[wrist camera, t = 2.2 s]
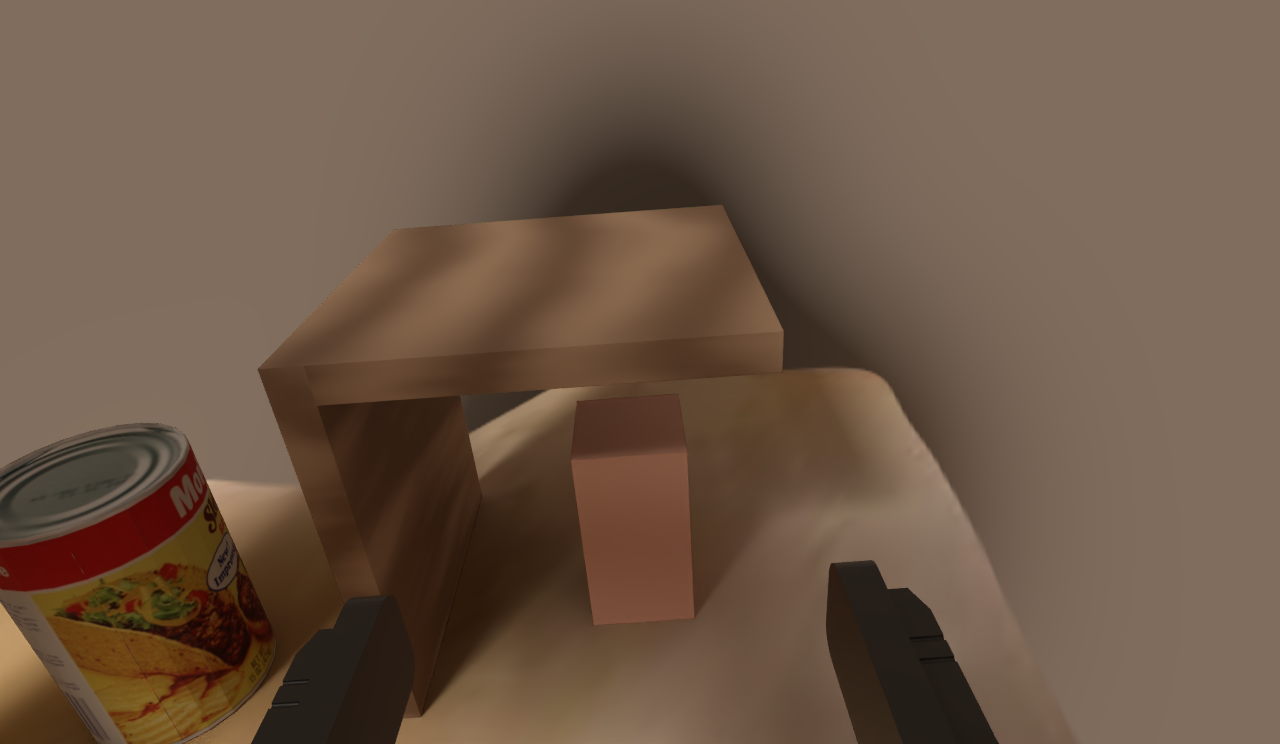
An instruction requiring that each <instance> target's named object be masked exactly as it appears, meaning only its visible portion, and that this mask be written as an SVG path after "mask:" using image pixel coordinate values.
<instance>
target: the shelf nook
mask: <svg viewBox="0 0 1280 744" xmlns="http://www.w3.org/2000/svg"><path fill="white" fill-rule="evenodd" d="M783 333H784V332H783V330H782V327H781V325H780V323H779V321H778V319H777V317H776V315H775V313H774V311H773V309H772V307H771V305H770V302H769V301H768V298H767V296H766V294H765V292H764V290H763V288H762V286H761V284H760V282H759V280H758V278H757V276H756V274H755V272H754V270H753V268H752V266H751V264H750V261H749V259H748V257H747V255H746V253H745V251H744V249H743V247H742V245H741V243H740V241H739V239H738V237H737V235H736V233H735V231H734V229H733V227H732V225H731V223H730V220H729V218H728V216H727V214H726V213H725V210H724V208H723V206H722V205H715V206H701V207H689V208H675V209H662V210H649V211H635V212H621V213H608V214H595V215H581V216H567V217H554V218H541V219H528V220H513V221H501V222H486V223H473V224H459V225H446V226H433V227H419V228H406V229H394V230H393V231H392V232H391V233H390V234H389V235H388V236H387V237H386V238H385V239H384V240H383V241H382V242H381V243H380V244H379V245H378V247H377V248H376V249H375V250H374V251H373V252H372V253H371V254H370V255H369V256H368V257H367V258H366V259H365V260H364V261H363V262H362V263H361V264H360V265H359V266H358V267H357V268H356V269H355V270H354V271H353V272H352V273H351V274H350V275H349V276H348V277H347V278H346V279H345V280H344V281H343V282H342V283H341V284H340V285H339V286H338V287H337V288H336V290H335V291H334V292H333V293H332V294H331V295H330V296H329V297H328V298H327V299H326V300H325V301H324V302H323V303H322V304H321V305H320V306H319V307H318V308H317V309H316V310H315V311H314V312H313V313H312V314H311V315H310V316H309V317H308V318H307V319H306V320H305V321H304V322H303V323H302V324H301V325H300V326H299V328H297V329H296V331H294V333H293V334H292V335H291V336H290V337H289V338H288V339H287V340H286V341H285V342H284V343H283V344H282V345H281V346H280V347H279V348H278V349H277V350H276V351H275V352H274V353H273V354H272V355H271V356H270V357H269V358H268V359H267V360H266V361H265V362H264V363H263V364H262V366H261V367H259V368H258V371H259V374H260V377H261V380H262V383H263V385H264V388H265V391H266V393H267V396H268V399H269V402H270V404H271V407H272V410H273V412H274V415H275V418H276V420H277V423H278V426H279V429H280V431H281V434H282V437H283V439H284V442H285V445H286V448H287V450H288V453H289V456H290V458H291V461H292V464H293V466H294V469H295V472H296V475H297V477H298V480H299V483H300V485H301V488H302V491H303V494H304V496H305V499H306V502H307V504H308V507H309V510H310V512H311V515H312V518H313V521H314V523H315V526H316V529H317V531H318V534H319V537H320V540H321V542H322V545H323V548H324V550H325V553H326V556H327V558H328V561H329V564H330V567H331V569H332V572H333V575H334V577H335V580H336V583H337V586H338V588H339V591H340V594H341V596H342V599H343V602H344V605H345V603H346V602H347V600H349V599H350V598H353V597H367V596H380V595H393V596H394V597H395V598H396V600H397V603H398V606H399V609H400V612H401V615H402V618H403V621H404V624H405V627H406V630H407V633H408V636H409V639H410V642H411V645H412V648H413V652H414V658H415V675H414V682H413V687H412V690H411V693H410V697H409V700H408V703H407V706H406V710H405V713H404V716H403V718H410V717H421V714H422V710H423V707H424V703H425V699H426V696H427V692H428V689H429V685H430V681H431V678H432V674H433V671H434V667H435V663H436V660H437V656H438V653H439V649H440V645H441V642H442V638H443V635H444V631H445V628H446V624H447V620H448V617H449V613H450V610H451V606H452V602H453V599H454V595H455V592H456V588H457V584H458V581H459V577H460V574H461V570H462V566H463V563H464V559H465V556H466V552H467V548H468V545H469V541H470V538H471V534H472V530H473V527H474V523H475V520H476V516H477V513H478V509H479V505H480V502H481V498H482V494H481V489H480V485H479V480H478V475H477V471H476V466H475V462H474V457H473V453H472V448H471V444H470V439H469V434H468V430H467V426H466V421H465V417H464V412H463V407H462V403H461V398H460V395H474V394H487V393H502V392H516V391H528V390H529V391H530V390H544V389H558V388H572V387H585V386H599V385H613V384H627V383H641V382H655V381H669V380H683V379H697V378H711V377H725V376H739V375H753V374H767V373H781V372H782V364H783Z"/></svg>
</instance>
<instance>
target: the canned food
mask: <svg viewBox="0 0 1280 744" xmlns="http://www.w3.org/2000/svg"><path fill="white" fill-rule="evenodd" d="M0 602H1V603H2V605H3V606H4V608H5V609H6V611H7V612H8V614H9V615H10V616H11V618H12V619H13V621H14V622H15V624H16V625H17V627H18V628H19V630H20V631H21V632H22V634H23V635H24V637H25V638H26V640H27V641H28V643H29V644H30V645H31V647H32V648H33V650H34V651H35V653H36V654H37V656H38V657H39V659H40V660H41V661H42V663H43V664H44V666H45V667H46V669H47V670H48V672H49V673H50V675H51V676H52V677H53V679H54V680H55V682H56V683H57V685H58V686H59V688H60V689H61V691H62V692H63V693H64V695H65V696H66V698H67V699H68V701H69V702H70V704H71V705H72V706H73V708H74V709H75V711H76V712H77V714H78V715H79V717H80V718H81V720H82V721H83V722H84V724H85V725H86V727H87V728H88V730H89V731H90V733H91V734H92V736H93V737H94V738H95V740H96V741H97V743H98V744H182V743H185V742H187V741H189V740H191V739H193V738H195V737H197V736H199V735H200V734H202V733H204V732H206V731H208V730H210V729H212V728H213V727H214V726H216V725H217V724H219V723H220V722H221V721H223V720H224V719H226V718H227V717H228V716H230V715H231V714H233V713H234V712H235V711H236V710H237V709H238V708H239V707H240V706H241V705H242V704H243V703H244V702H245V701H246V700H247V699H248V698H250V697H251V696H252V695H253V693H254V692H255V691H256V689H257V688H258V687H259V685H260V684H261V682H262V681H263V680H264V678H265V677H266V676H267V674H268V671H269V669H270V667H271V664H272V662H273V660H274V658H275V649H276V639H275V636H274V633H273V629H272V627H271V625H270V623H269V620H268V618H267V616H266V614H265V611H264V609H263V607H262V605H261V602H260V600H259V598H258V596H257V593H256V591H255V589H254V587H253V584H252V582H251V580H250V578H249V576H248V573H247V571H246V569H245V567H244V564H243V562H242V560H241V558H240V555H239V553H238V551H237V549H236V546H235V544H234V542H233V540H232V538H231V535H230V533H229V531H228V529H227V526H226V524H225V522H224V520H223V517H222V515H221V513H220V511H219V508H218V506H217V504H216V502H215V499H214V497H213V495H212V493H211V491H210V488H209V486H208V484H207V482H206V479H205V477H204V475H203V473H202V470H201V468H200V466H199V464H198V462H197V459H196V457H195V455H194V453H193V450H192V448H191V446H190V444H189V442H188V439H187V437H186V435H185V434H183V433H182V432H181V431H180V430H178V429H177V428H176V427H172V426H168V425H164V424H159V423H135V424H125V425H116V426H112V427H108V428H103V429H98V430H93V431H89V432H86V433H83V434H79V435H76V436H73V437H70V438H66V439H63V440H61V441H58V442H56V443H53V444H51V445H48V446H46V447H43V448H41V449H38V450H36V451H33V452H31V453H29V454H28V455H25V456H23V457H22V458H19V459H18V460H15V461H13V462H12V463H9V464H8V465H6V466H5V467H3V468H1V469H0Z"/></svg>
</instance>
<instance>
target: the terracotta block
mask: <svg viewBox="0 0 1280 744" xmlns="http://www.w3.org/2000/svg"><path fill="white" fill-rule="evenodd" d="M571 466H572V473H573V480H574V487H575V494H576V501H577V509H578V516H579V523H580V530H581V537H582V544H583V551H584V558H585V566H586V573H587V580H588V587H589V594H590V601H591V608H592V615H593V623H594V625H607V624H622V623H637V622H651V621H666V620H681V619H694V597H693V574H692V551H691V529H690V506H689V484H688V461H687V448H686V441H685V434H684V427H683V421H682V414H681V407H680V400H679V394H669V395H655V396H641V397H627V398H613V399H599V400H585V401H577V407H576V416H575V425H574V435H573V444H572V453H571Z"/></svg>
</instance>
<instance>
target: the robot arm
mask: <svg viewBox="0 0 1280 744" xmlns="http://www.w3.org/2000/svg"><path fill="white" fill-rule="evenodd" d="M826 632H827V641H828V647H829V651H830V656H831V659H832V662H833V666H834V669H835V672H836V675H837V678H838V681H839V685H840V688H841V691H842V694H843V697H844V700H845V703H846V707H847V710H848V713H849V716H850V719H851V722H852V726H853V729H854V732H855V735H856V738H857V741H858V744H999V743H998V741H997V740H996V738H995V736H994V734H993V732H992V730H991V728H990V726H989V724H988V722H987V720H986V718H985V716H984V714H983V712H982V710H981V708H980V706H979V704H978V702H977V700H976V698H975V696H974V694H973V692H972V690H971V688H970V686H969V684H968V682H967V680H966V678H965V676H964V674H963V672H962V671H961V669H960V667H959V665H958V663H957V662H955V659H954V655H953V653H952V651H951V649H950V647H949V645H948V643H947V641H946V640H944V637H943V633H942V631H941V629H940V627H939V625H938V623H937V621H936V619H935V617H934V615H933V613H932V611H931V609H930V608H929V607H927V606H926V605H925V604H924V603H923V602H922V601H921V600H920V599H919V598H918V597H917V596H916V595H915V594H913V593H912V592H911V591H910V590H909V589H908V588H899V589H887V587H886V585H885V583H884V580H883V578H882V576H881V574H880V571H879V569H878V567H877V565H876V564H875V562H874V561H872V560H869V561H855V562H842V563H831V565H830V569H829V582H828V598H827V615H826ZM414 675H415V658H414V652H413V648H412V645H411V642H410V639H409V636H408V633H407V630H406V627H405V624H404V621H403V618H402V615H401V612H400V609H399V606H398V603H397V600H396V598H395V597H394V596H393V595H380V596H367V597H353V598H350V599H349V600H347V602H346V603H345V605H344V607H343V609H342V611H341V613H340V615H339V617H338V619H337V622H336V624H335V626H334V628H333V629H322V630H319V631H318V632H317V633H316V634H315V635H314V636H313V637H312V638H311V639H310V640H309V641H308V642H307V643H306V644H305V645H304V646H303V648H302V649H301V650H300V651H299V652H298V653H297V654H296V656H295V658H294V660H293V662H292V664H291V666H290V668H289V670H288V671H287V673H286V675H285V677H284V679H283V685H282V686H280V687H279V689H278V691H277V693H276V695H275V697H274V699H273V701H272V707H271V709H268V711H267V713H266V715H265V717H264V719H263V721H262V723H261V725H260V727H259V729H258V731H257V733H256V735H255V737H254V739H253V741H252V743H251V744H395V742H396V739H397V735H398V732H399V729H400V726H401V722H402V719H403V716H404V713H405V710H406V706H407V703H408V700H409V697H410V693H411V690H412V687H413V682H414Z"/></svg>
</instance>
